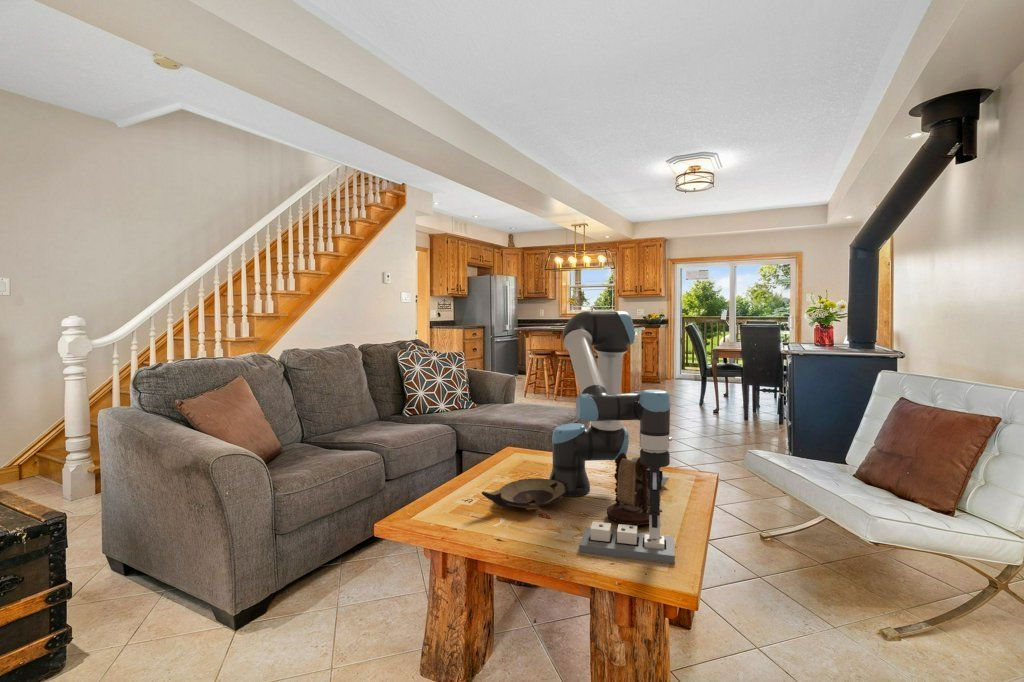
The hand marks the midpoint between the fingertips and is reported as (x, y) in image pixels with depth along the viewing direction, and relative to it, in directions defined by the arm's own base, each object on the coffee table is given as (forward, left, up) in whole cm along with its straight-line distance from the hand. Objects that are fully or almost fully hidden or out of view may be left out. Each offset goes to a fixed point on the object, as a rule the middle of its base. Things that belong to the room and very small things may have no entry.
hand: (654, 537), depth 134 cm
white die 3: (0, 0, -3) cm, 3 cm away
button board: (-7, 0, -4) cm, 8 cm away
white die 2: (-7, 0, -1) cm, 7 cm away
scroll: (-7, +20, -4) cm, 22 cm away
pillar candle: (-3, +38, -4) cm, 38 cm away
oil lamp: (-42, +24, -4) cm, 49 cm away
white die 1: (-14, 0, -1) cm, 14 cm away
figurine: (0, +55, -4) cm, 55 cm away
